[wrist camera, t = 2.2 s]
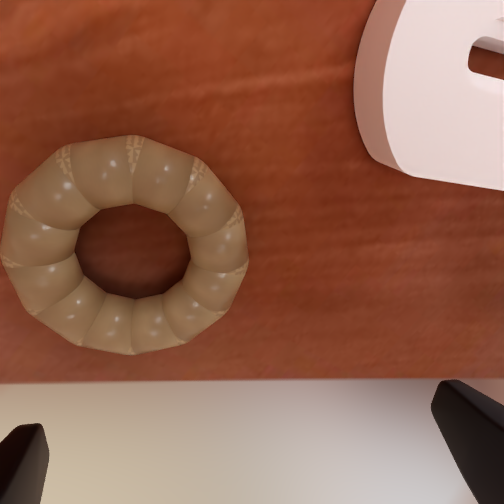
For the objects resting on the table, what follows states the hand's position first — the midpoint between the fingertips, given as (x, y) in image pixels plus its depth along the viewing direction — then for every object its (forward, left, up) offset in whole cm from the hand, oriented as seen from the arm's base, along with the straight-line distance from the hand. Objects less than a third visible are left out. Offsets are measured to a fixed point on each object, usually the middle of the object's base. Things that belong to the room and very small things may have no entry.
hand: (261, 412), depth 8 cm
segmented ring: (+3, +1, -8) cm, 9 cm away
